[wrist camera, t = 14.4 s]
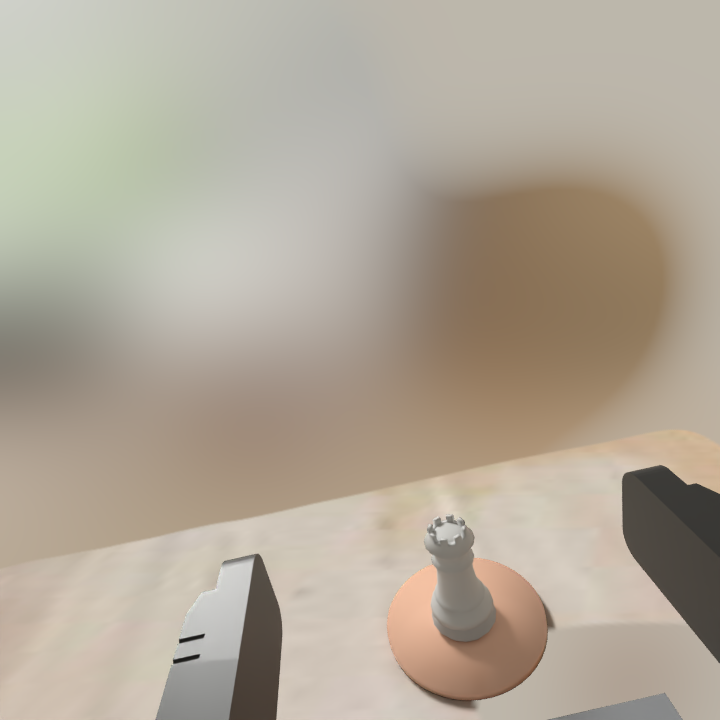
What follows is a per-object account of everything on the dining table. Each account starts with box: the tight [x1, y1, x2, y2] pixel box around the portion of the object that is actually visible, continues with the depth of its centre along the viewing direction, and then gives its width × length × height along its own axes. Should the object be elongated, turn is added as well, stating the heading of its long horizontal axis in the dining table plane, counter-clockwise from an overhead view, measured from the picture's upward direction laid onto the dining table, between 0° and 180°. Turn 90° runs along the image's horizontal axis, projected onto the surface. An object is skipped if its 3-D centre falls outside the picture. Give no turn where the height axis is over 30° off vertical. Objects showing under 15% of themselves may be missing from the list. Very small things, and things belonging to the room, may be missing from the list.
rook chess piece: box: [424, 514, 496, 642], centre depth 34 cm, size 4×4×8 cm
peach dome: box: [387, 558, 548, 700], centre depth 35 cm, size 11×11×1 cm
